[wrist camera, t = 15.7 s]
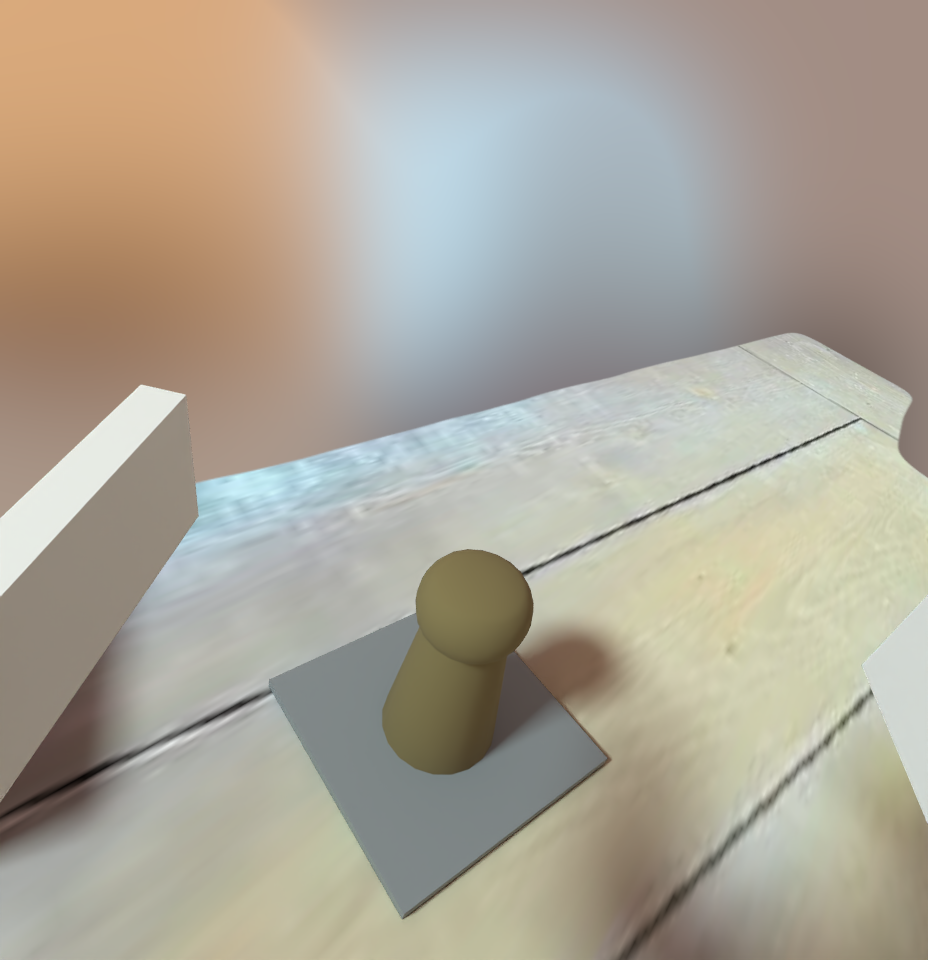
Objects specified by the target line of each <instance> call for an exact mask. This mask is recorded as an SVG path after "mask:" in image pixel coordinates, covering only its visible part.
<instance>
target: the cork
mask: <svg viewBox="0 0 928 960" xmlns="http://www.w3.org/2000/svg"><path fill="white" fill-rule="evenodd" d="M416 615H417V622H418V625H419V629H418V631H417V633H416V635H415V637H414V639H413V642H412V644H411V646H410V648H409V650H408V652H407V655H406V657H405V659H404V661H403V663H402V665H401V667H400V670H399V672H398V674H397V676H396V678H395V680H394V683H393V685H392V687H391V689H390V691H389V693H388V696H387V698H386V701H385V704H384V707H383V709H382V727H383V730H384V733H385V736H386V739H387V742H388V744H389V745H390V746H391V748H392V749H393V750H394V752H395V753H396V754H397V755H398V757H399V758H400V759H402V760H403V761H405V762H406V763H408V764H409V765H410V766H412V767H413V768H415V769H418V770H421V771H424V772H427V773H430V774H433V775H452V774H455V773H458V772H462V771H465V770H468V769H470V768H471V767H472V766H474V765H475V764H476V763H478V762H479V761H480V760H481V759H483V757H484V756H485V754H486V752H487V751H488V749H489V748H490V746H491V744H492V739H493V734H494V729H495V723H496V718H497V712H498V706H499V700H500V695H501V689H502V683H503V677H504V672H505V666H506V660H507V656H508V655H509V654H511V653H512V652H514V651H515V649H516V648H517V647H518V646H519V645H520V644H521V642H522V641H523V639H524V638H525V636H526V635H527V633H528V631H529V628H530V626H531V621H532V616H533V599H532V594H531V590H530V588H529V585H528V583H527V582H526V580H525V578H524V577H523V575H522V573H521V572H520V571H519V570H518V569H517V568H516V567H515V566H514V565H513V564H512V563H510V562H509V561H507V560H505V559H504V558H502V557H500V556H498V555H496V554H493V553H489V552H486V551H483V550H470V549H467V550H461V551H455V552H453V553H450V554H448V555H446V556H444V557H442V558H441V559H439V560H437V561H436V562H435V563H434V564H433V565H432V566H431V567H430V568H429V569H428V570H427V571H426V573H425V575H424V576H423V578H422V580H421V583H420V586H419V588H418V591H417V596H416Z"/></svg>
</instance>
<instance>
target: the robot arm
mask: <svg viewBox="0 0 928 960" xmlns="http://www.w3.org/2000/svg"><path fill="white" fill-rule="evenodd" d="M197 517H198V506H197V496H196V487H195V477H194V467H193V458H192V447H191V437H190V428H189V418H188V408H187V399H186V395H185V394H180V393H176V392H171V391H167V390H163V389H157V388H154V387H149V386H145V385H140V386H139V387H138V388H137V389H136V390H135V391H134V392H133V393H132V394H131V395H130V396H129V397H127V398H126V400H124V401H123V402H122V403H121V404H120V405H119V406H118V407H117V408H116V409H115V410H114V411H113V412H112V413H111V414H110V415H109V416H107V417H106V418H105V419H104V420H103V421H102V422H101V423H100V424H99V425H98V426H97V427H96V428H95V429H94V430H93V431H92V432H91V433H90V434H89V435H87V436H86V437H85V438H84V439H83V440H82V441H81V442H80V443H79V444H78V445H77V446H76V447H75V448H74V449H73V450H72V451H71V452H70V453H68V454H67V455H66V456H65V457H64V458H63V459H62V460H61V461H60V462H59V463H58V464H57V465H56V466H55V467H54V468H53V469H52V470H51V471H50V472H48V474H47V475H45V476H44V477H43V478H42V479H41V480H40V481H39V482H38V483H37V484H36V485H35V486H34V487H33V488H32V489H31V490H30V491H29V492H27V493H26V494H25V495H24V496H23V497H22V498H21V499H20V500H19V501H18V502H17V503H16V504H15V505H14V506H13V507H12V508H11V509H10V510H9V511H7V512H6V513H5V514H4V515H3V516H2V517H1V518H0V802H1V801H2V799H3V798H4V796H5V795H6V794H7V792H8V791H9V789H10V788H11V786H12V785H13V783H14V782H15V780H16V779H17V778H18V776H19V775H20V773H21V772H22V770H23V769H24V767H25V766H26V765H27V763H28V762H29V760H30V759H31V757H32V756H33V754H34V753H35V752H36V750H37V749H38V747H39V746H40V744H41V743H42V741H43V740H44V739H45V737H46V736H47V734H48V733H49V731H50V730H51V728H52V727H53V726H54V724H55V723H56V721H57V720H58V718H59V717H60V715H61V714H62V713H63V711H64V710H65V708H66V707H67V705H68V704H69V702H70V701H71V700H72V698H73V697H74V695H75V694H76V692H77V691H78V689H79V688H80V687H81V685H82V684H83V682H84V681H85V679H86V678H87V676H88V675H89V674H90V672H91V671H92V669H93V668H94V666H95V665H96V663H97V662H98V661H99V659H100V658H101V656H102V655H103V653H104V652H105V650H106V649H107V647H108V646H109V645H110V643H111V642H112V640H113V639H114V637H115V636H116V634H117V633H118V632H119V630H120V629H121V627H122V626H123V624H124V623H125V621H126V620H127V619H128V617H129V616H130V614H131V613H132V611H133V610H134V608H135V607H136V606H137V604H138V603H139V601H140V600H141V598H142V597H143V595H144V594H145V593H146V591H147V590H148V588H149V587H150V585H151V584H152V582H153V581H154V580H155V578H156V577H157V575H158V574H159V572H160V571H161V569H162V568H163V567H164V565H165V564H166V562H167V561H168V559H169V558H170V556H171V555H172V554H173V552H174V551H175V549H176V548H177V546H178V545H179V543H180V542H181V541H182V539H183V538H184V536H185V535H186V533H187V532H188V530H189V529H190V528H191V526H192V525H193V523H194V522H195V520H196V519H197ZM862 668H863V670H864V672H865V675H866V677H867V680H868V682H869V684H870V687H871V689H872V692H873V694H874V696H875V699H876V701H877V704H878V706H879V708H880V711H881V713H882V716H883V718H884V720H885V723H886V725H887V728H888V730H889V732H890V735H891V737H892V740H893V742H894V744H895V747H896V749H897V752H898V754H899V756H900V759H901V761H902V764H903V766H904V768H905V771H906V773H907V776H908V778H909V780H910V783H911V785H912V788H913V790H914V792H915V795H916V797H917V800H918V802H919V804H920V807H921V809H922V812H923V814H924V816H925V819H926V821H927V824H928V595H927V596H926V597H925V598H924V599H923V600H922V601H921V602H920V603H919V604H918V605H917V606H916V608H915V609H914V610H913V611H912V612H911V613H910V614H909V615H908V616H907V617H906V618H905V619H904V620H903V621H902V622H901V624H900V625H899V626H898V627H897V628H896V629H895V630H894V631H893V632H892V633H891V634H890V635H889V636H888V637H887V638H886V639H885V641H884V642H883V643H882V644H881V645H880V646H879V647H878V648H877V649H876V650H875V651H874V652H873V653H872V654H871V655H870V656H869V658H868V659H867V660H866V661H865V662H864V663H863V664H862Z"/></svg>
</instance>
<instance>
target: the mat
mask: <svg viewBox="0 0 928 960" xmlns="http://www.w3.org/2000/svg"><path fill="white" fill-rule="evenodd" d="M418 629H419V625H418V622H417V615H416V613H415V614H412V615H410V616H408V617H406V618H404V619H401V620H399V621H397V622H395V623H393V624H390V625H388V626H386V627H384V628H382V629H379V630H377V631H375V632H373V633H371V634H369V635H366V636H364V637H362V638H360V639H358V640H355V641H353V642H351V643H349V644H347V645H344V646H342V647H340V648H338V649H336V650H333V651H331V652H329V653H327V654H325V655H322V656H320V657H318V658H316V659H314V660H311V661H309V662H307V663H305V664H303V665H300V666H298V667H296V668H294V669H292V670H289V671H287V672H285V673H283V674H281V675H278V676H276V677H274V678H272V679H270V680H269V687H270V689H271V691H272V692H273V694H274V696H275V698H276V699H277V701H278V703H279V705H280V706H281V708H282V710H283V712H284V713H285V715H286V717H287V719H288V720H289V722H290V724H291V726H292V727H293V729H294V731H295V733H296V734H297V736H298V738H299V740H300V741H301V743H302V745H303V747H304V748H305V750H306V752H307V754H308V755H309V757H310V759H311V761H312V762H313V764H314V766H315V768H316V769H317V771H318V773H319V775H320V776H321V778H322V780H323V782H324V783H325V785H326V787H327V789H328V790H329V792H330V794H331V796H332V797H333V799H334V801H335V803H336V804H337V806H338V808H339V810H340V811H341V813H342V815H343V817H344V818H345V820H346V822H347V824H348V825H349V827H350V829H351V831H352V832H353V834H354V836H355V838H356V839H357V841H358V843H359V845H360V846H361V848H362V850H363V852H364V853H365V855H366V857H367V859H368V860H369V862H370V864H371V866H372V867H373V869H374V871H375V873H376V874H377V876H378V878H379V880H380V881H381V883H382V885H383V887H384V888H385V890H386V892H387V894H388V895H389V897H390V899H391V901H392V902H393V904H394V906H395V908H396V909H397V911H398V913H399V915H400V916H401V918H402V919H403V918H405V917H406V916H407V915H408V914H410V913H411V912H412V911H414V910H415V909H416V908H418V907H419V906H420V905H421V904H423V903H424V902H425V901H427V900H428V899H429V898H431V897H432V896H433V895H434V894H436V893H437V892H438V891H440V890H441V889H442V888H444V887H445V886H446V885H447V884H449V883H450V882H451V881H453V880H454V879H455V878H457V877H458V876H459V875H460V874H462V873H463V872H464V871H466V870H467V869H468V868H470V867H471V866H472V865H473V864H475V863H476V862H477V861H479V860H480V859H481V858H482V857H484V856H485V855H486V854H488V853H489V852H490V851H492V850H493V849H494V848H495V847H497V846H498V845H499V844H501V843H502V842H503V841H505V840H506V839H507V838H508V837H510V836H511V835H512V834H514V833H515V832H516V831H518V830H519V829H520V828H521V827H523V826H524V825H525V824H527V823H528V822H529V821H531V820H532V819H533V818H534V817H536V816H537V815H538V814H540V813H541V812H542V811H544V810H545V809H546V808H547V807H549V806H550V805H551V804H553V803H554V802H555V801H557V800H558V799H559V798H560V797H562V796H563V795H564V794H566V793H567V792H568V791H570V790H571V789H572V788H573V787H575V786H576V785H577V784H579V783H580V782H581V781H583V780H584V779H585V778H586V777H588V776H589V775H590V774H592V773H593V772H594V771H595V770H597V769H598V768H599V767H601V766H602V765H603V764H604V763H605V762H606V760H607V757H606V756H605V755H604V754H603V753H602V751H601V750H600V749H599V748H598V747H597V746H596V745H595V743H594V742H593V741H592V740H591V739H590V738H589V737H588V735H587V734H586V733H585V732H584V731H583V730H582V729H581V727H580V726H579V725H578V724H577V723H576V722H575V721H574V719H573V718H572V717H571V716H570V715H569V714H568V713H567V711H566V710H565V709H564V708H563V707H562V706H561V705H560V703H559V702H558V701H557V700H556V699H555V698H554V697H553V695H552V694H551V693H550V692H549V691H548V690H547V689H546V687H545V686H544V685H543V684H542V683H541V682H540V681H539V679H538V678H537V677H536V676H535V675H534V674H533V673H532V671H531V670H530V669H529V668H528V667H527V666H526V665H525V663H524V662H523V661H522V660H521V659H520V658H519V657H518V655H517V654H516V653H515V652H512V653H511V654H509V655H508V656H507V660H506V666H505V672H504V677H503V683H502V689H501V695H500V700H499V706H498V712H497V718H496V723H495V729H494V734H493V739H492V744H491V746H490V748H489V749H488V751H487V752H486V754H485V756H484V757H483V759H481V760H480V761H479V762H478V763H476V764H475V765H474V766H472V767H471V768H470V769H468V770H465V771H462V772H458V773H455V774H452V775H433V774H430V773H427V772H424V771H421V770H418V769H415V768H413V767H412V766H410V765H409V764H408V763H406V762H405V761H403V760H402V759H400V758H399V757H398V755H397V754H396V753H395V752H394V750H393V749H392V748H391V746H390V745H389V744H388V742H387V739H386V736H385V733H384V730H383V727H382V709H383V707H384V704H385V701H386V698H387V696H388V693H389V691H390V689H391V687H392V685H393V683H394V680H395V678H396V676H397V674H398V672H399V670H400V667H401V665H402V663H403V661H404V659H405V657H406V655H407V652H408V650H409V648H410V646H411V644H412V642H413V639H414V637H415V635H416V633H417V631H418Z"/></svg>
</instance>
